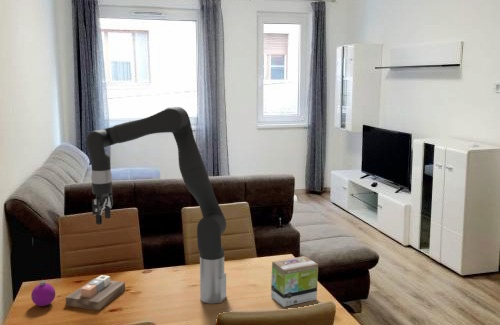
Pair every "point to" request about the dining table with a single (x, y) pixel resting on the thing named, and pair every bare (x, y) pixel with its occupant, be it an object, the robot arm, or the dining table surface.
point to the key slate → (98, 284)
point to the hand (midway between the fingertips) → (103, 221)
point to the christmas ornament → (43, 294)
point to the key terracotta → (88, 291)
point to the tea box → (294, 281)
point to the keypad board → (96, 296)
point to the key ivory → (105, 279)
